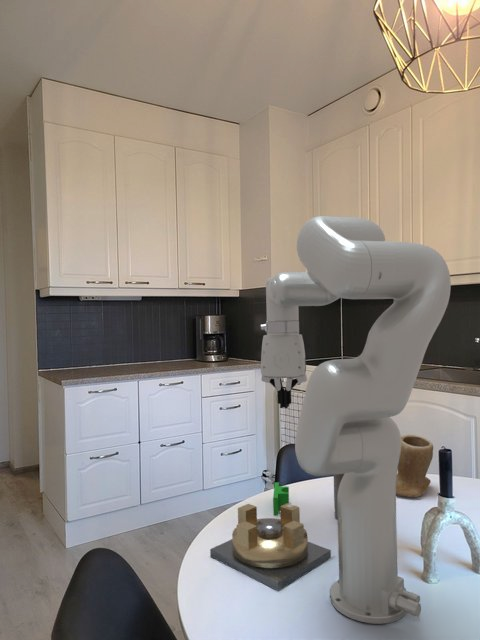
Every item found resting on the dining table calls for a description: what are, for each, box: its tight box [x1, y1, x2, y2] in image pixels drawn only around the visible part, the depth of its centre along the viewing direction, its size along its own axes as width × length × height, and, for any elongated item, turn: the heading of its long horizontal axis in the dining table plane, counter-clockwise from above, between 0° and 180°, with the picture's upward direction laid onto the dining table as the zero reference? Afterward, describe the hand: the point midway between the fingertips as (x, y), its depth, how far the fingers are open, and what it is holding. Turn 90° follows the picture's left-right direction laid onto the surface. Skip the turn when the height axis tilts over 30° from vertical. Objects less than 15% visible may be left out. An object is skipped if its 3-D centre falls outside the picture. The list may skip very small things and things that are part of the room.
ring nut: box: [231, 502, 309, 568], centre depth 95 cm, size 15×15×7 cm
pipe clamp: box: [272, 482, 290, 517], centre depth 121 cm, size 11×4×5 cm, turn 174°
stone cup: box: [396, 434, 434, 498], centre depth 130 cm, size 15×12×15 cm
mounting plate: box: [209, 539, 332, 592], centre depth 95 cm, size 18×16×2 cm
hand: (284, 406), depth 111 cm, fingers closed
